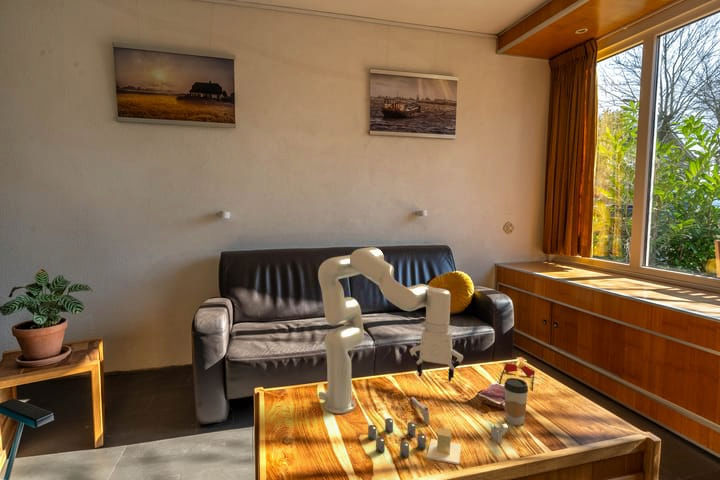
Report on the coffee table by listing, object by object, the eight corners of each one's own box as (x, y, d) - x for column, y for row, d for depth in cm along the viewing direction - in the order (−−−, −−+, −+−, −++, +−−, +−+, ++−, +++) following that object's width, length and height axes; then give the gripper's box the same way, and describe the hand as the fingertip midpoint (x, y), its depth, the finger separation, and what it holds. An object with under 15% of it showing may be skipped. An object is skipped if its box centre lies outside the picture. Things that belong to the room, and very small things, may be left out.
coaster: (426, 458, 125) (426, 456, 125) (431, 440, 135) (431, 438, 135) (459, 464, 122) (459, 462, 122) (461, 446, 132) (461, 444, 132)
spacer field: (361, 450, 129) (361, 438, 129) (374, 426, 143) (374, 415, 143) (422, 462, 123) (422, 450, 123) (428, 436, 137) (429, 425, 137)
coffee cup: (527, 418, 149) (528, 379, 148) (526, 429, 142) (528, 389, 140) (503, 413, 153) (505, 375, 151) (501, 424, 145) (503, 384, 144)
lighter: (490, 437, 137) (491, 415, 136) (494, 436, 137) (495, 414, 137) (503, 449, 130) (503, 426, 129) (507, 448, 131) (508, 425, 130)
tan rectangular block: (437, 452, 127) (437, 434, 127) (438, 445, 131) (439, 427, 131) (449, 454, 126) (450, 436, 126) (450, 447, 130) (451, 430, 129)
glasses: (535, 377, 185) (535, 367, 185) (532, 392, 171) (533, 381, 170) (503, 371, 192) (504, 361, 191) (499, 385, 177) (499, 374, 177)
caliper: (429, 425, 144) (429, 409, 144) (426, 426, 144) (426, 409, 144) (412, 398, 164) (413, 384, 164) (410, 398, 164) (410, 384, 164)
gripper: (408, 326, 128) (406, 377, 129) (463, 333, 122) (461, 386, 124) (413, 320, 135) (411, 368, 136) (465, 326, 129) (462, 376, 131)
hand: (435, 377), depth 130 cm, fingers open, 9 cm apart
